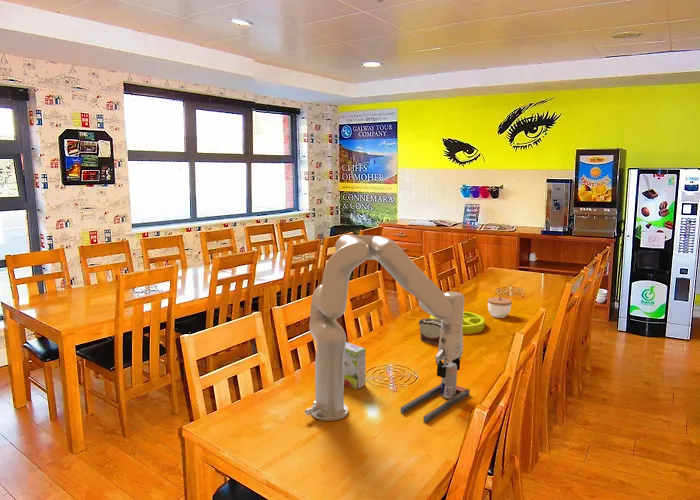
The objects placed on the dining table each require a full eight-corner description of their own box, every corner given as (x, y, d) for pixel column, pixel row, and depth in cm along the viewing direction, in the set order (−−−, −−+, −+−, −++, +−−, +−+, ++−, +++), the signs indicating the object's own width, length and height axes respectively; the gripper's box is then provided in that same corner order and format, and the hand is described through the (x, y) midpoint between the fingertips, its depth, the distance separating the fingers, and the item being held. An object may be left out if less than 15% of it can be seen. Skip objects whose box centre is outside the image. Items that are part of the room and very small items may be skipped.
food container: (447, 341, 243) (448, 321, 241) (442, 345, 238) (443, 324, 236) (423, 336, 249) (424, 316, 248) (418, 340, 244) (418, 319, 243)
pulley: (418, 324, 269) (418, 315, 268) (450, 314, 287) (451, 305, 286) (463, 338, 248) (463, 328, 248) (494, 326, 267) (495, 317, 266)
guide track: (426, 423, 167) (426, 417, 166) (400, 412, 173) (400, 407, 173) (469, 394, 187) (469, 389, 187) (444, 386, 194) (444, 381, 194)
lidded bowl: (488, 318, 279) (489, 299, 277) (485, 312, 291) (487, 293, 289) (512, 320, 277) (513, 300, 275) (509, 313, 289) (510, 294, 287)
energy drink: (445, 391, 190) (446, 360, 188) (458, 395, 187) (460, 364, 185) (438, 396, 186) (439, 364, 184) (451, 400, 183) (452, 368, 181)
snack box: (316, 374, 204) (316, 337, 202) (326, 370, 208) (327, 334, 206) (356, 390, 190) (356, 351, 187) (366, 385, 194) (367, 347, 192)
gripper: (447, 335, 173) (444, 383, 176) (472, 324, 186) (469, 369, 189) (429, 329, 178) (426, 376, 181) (454, 319, 191) (451, 363, 194)
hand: (448, 372), depth 185 cm, fingers open, 9 cm apart
